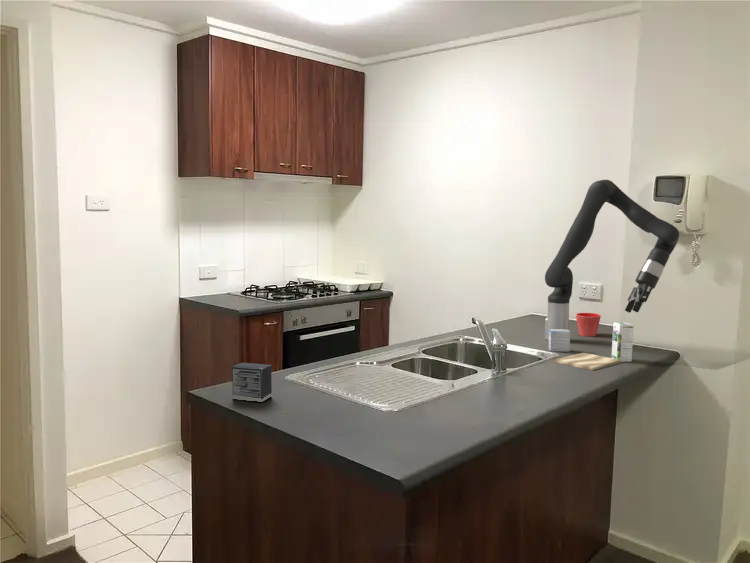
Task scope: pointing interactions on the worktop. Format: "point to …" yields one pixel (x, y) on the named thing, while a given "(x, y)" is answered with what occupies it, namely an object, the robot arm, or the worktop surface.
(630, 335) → the syrup box
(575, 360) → the birch board
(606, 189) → the robot arm
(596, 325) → the flower pot
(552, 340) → the medicine box
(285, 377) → the worktop surface
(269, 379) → the small box
